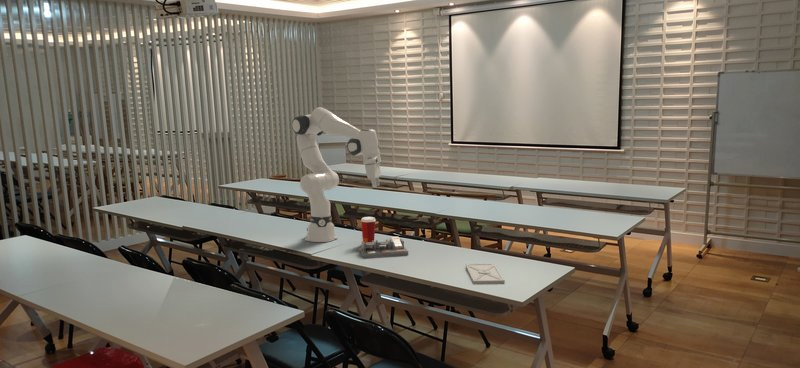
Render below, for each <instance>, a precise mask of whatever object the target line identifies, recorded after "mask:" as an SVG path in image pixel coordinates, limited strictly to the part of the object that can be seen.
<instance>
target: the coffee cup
mask: <svg viewBox="0 0 800 368" xmlns="http://www.w3.org/2000/svg"><path fill="white" fill-rule="evenodd" d="M376 221H377V219H376V218H375V217H373V216H364V217H362V218H361V220H360V222H361V234H362V241H363V242H364V243H369V242H372V240H374V241H375V234H376V233H375V232H376V231H375V230H376Z"/></svg>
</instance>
